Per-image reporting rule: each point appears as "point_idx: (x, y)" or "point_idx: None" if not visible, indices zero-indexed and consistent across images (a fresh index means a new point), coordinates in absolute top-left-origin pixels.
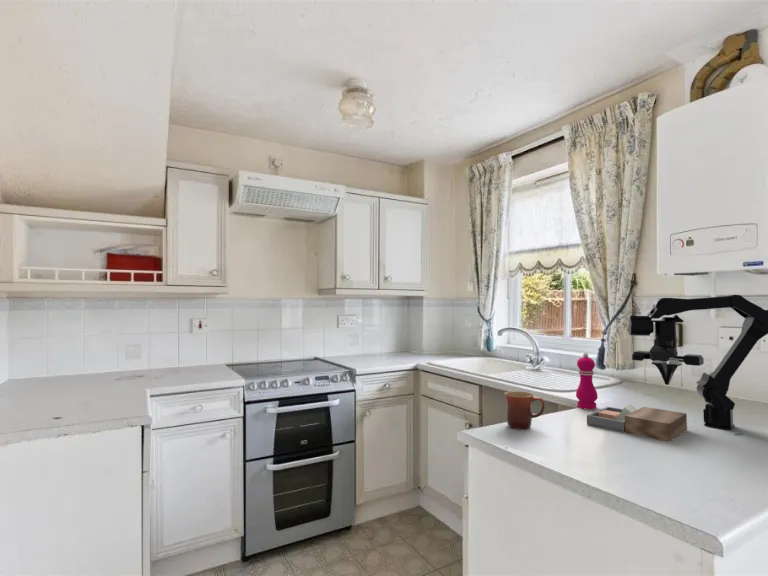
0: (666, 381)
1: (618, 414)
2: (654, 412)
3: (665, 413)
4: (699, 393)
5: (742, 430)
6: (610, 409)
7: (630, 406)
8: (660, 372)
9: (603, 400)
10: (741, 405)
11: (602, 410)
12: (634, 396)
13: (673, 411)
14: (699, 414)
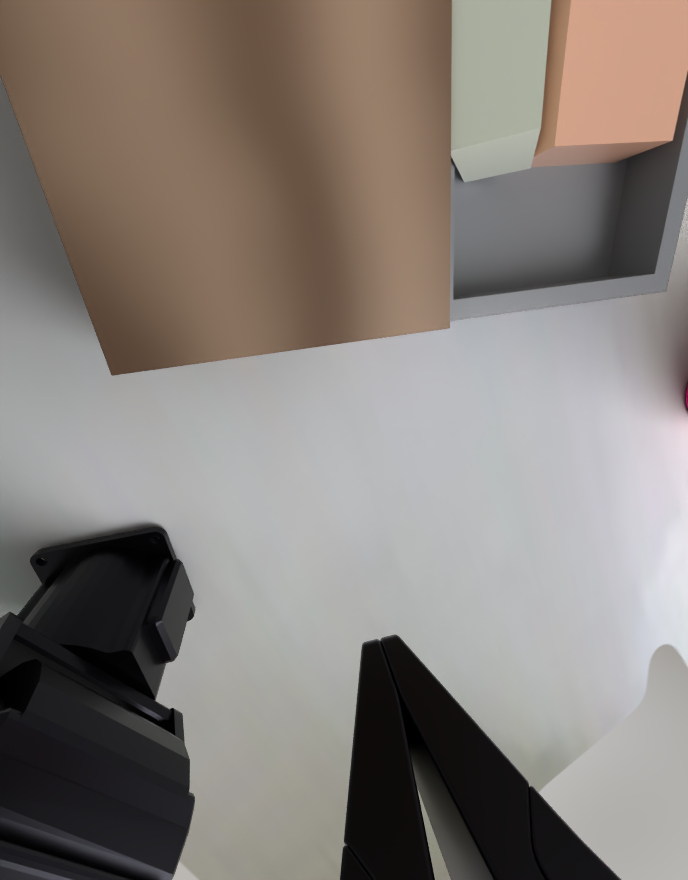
0: (393, 677)
1: (558, 76)
2: (295, 144)
3: (209, 196)
4: (144, 741)
5: (13, 602)
6: (632, 275)
7: (524, 64)
8: (572, 837)
9: (672, 566)
10: (269, 872)
11: (683, 122)
12: (579, 710)
13: (216, 356)
14: (296, 684)
